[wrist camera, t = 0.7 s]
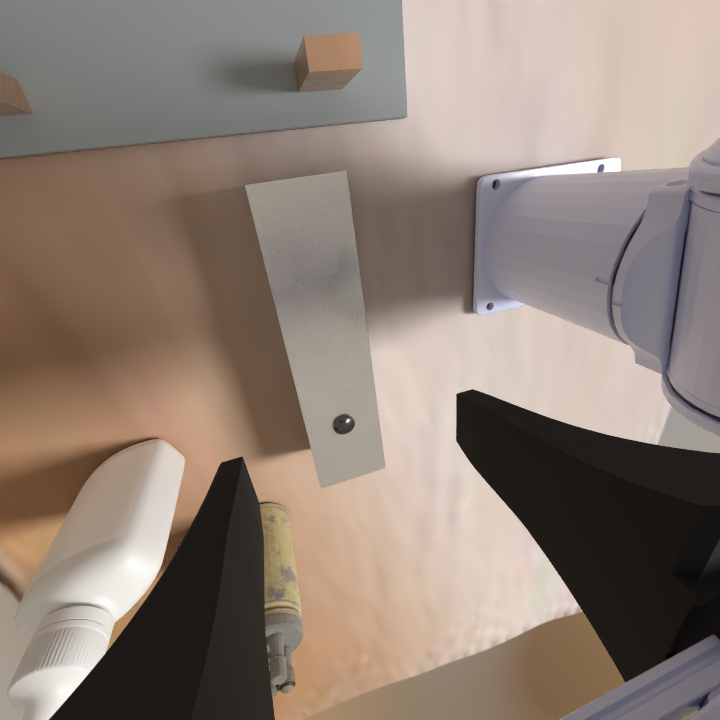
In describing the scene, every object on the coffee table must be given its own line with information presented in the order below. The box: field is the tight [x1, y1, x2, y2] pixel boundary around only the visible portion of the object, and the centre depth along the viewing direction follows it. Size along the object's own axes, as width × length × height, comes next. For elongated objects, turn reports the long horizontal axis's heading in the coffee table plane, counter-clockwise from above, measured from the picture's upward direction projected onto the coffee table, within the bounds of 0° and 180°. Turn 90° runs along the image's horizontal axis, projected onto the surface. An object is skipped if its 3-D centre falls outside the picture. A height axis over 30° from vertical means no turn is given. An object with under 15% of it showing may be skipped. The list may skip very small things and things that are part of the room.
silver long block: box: [245, 170, 385, 488], centre depth 19 cm, size 16×4×4 cm, turn 8°
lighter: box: [260, 503, 303, 697], centre depth 21 cm, size 7×4×10 cm, turn 100°
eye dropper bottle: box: [7, 439, 185, 720], centre depth 16 cm, size 4×6×12 cm
